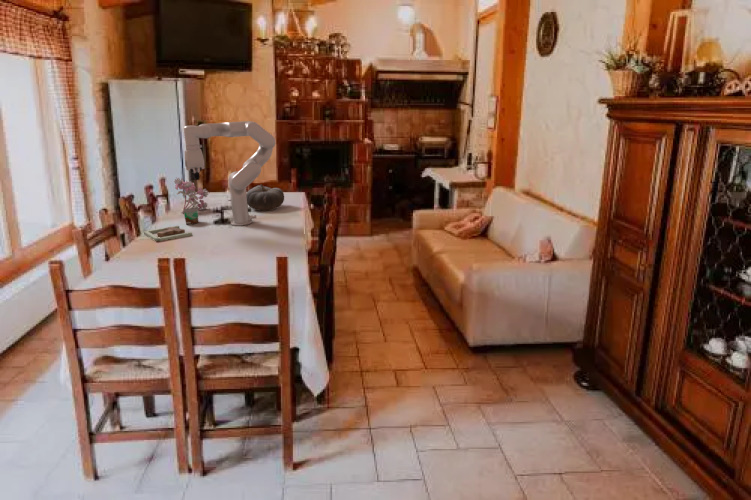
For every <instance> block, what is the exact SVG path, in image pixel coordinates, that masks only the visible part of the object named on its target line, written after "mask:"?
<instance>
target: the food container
mask: <svg viewBox="0 0 751 500" xmlns="http://www.w3.org/2000/svg"><path fill="white" fill-rule="evenodd" d="M187 208H188V207H187ZM199 208H200V207H198V206H197V204H196V205H192V206H191V207H190V208H188V209H183V213H182V214H183V215H184V220H185V224H186V225H187V226H189V225H196V224H198V223H199V210H200V209H199Z"/></svg>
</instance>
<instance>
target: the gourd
mask: <svg viewBox="0 0 751 500" xmlns="http://www.w3.org/2000/svg"><path fill="white" fill-rule="evenodd" d="M246 193H247V204H248V207H249V208H251V209H253V210H256V211H260V212H261V211H263V212H265V211H268V212H269V211H273V210H275V209H277V208H279V207H280V206H281V205H283V204H284V202H285V194H284V191H283V190H282V189H281V188H279V187H273V188H271V187H268V186H264V185H263V184H260V185H256V186H254V187H252V188H250V189H249V190H248V191H246Z"/></svg>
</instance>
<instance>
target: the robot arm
mask: <svg viewBox="0 0 751 500" xmlns="http://www.w3.org/2000/svg"><path fill="white" fill-rule="evenodd" d="M183 133H184V141H185V151H184V166H185V170H186V171H190V172H191V173H193V175H192V176H193V179H194V180H195V181H199V180H200V172H201V171H202V170H204V169H205V168H206V166H205V158H204V154H203V151H202V149H201V148H203V144H200V139H209V138H212V137H226V138H235V137H236V138H238V137H251V138H252V139H253V140H254V141H255V142H256V143H258V147H257V148H258V149H257V150H256V151H255V153H253V155H251V156H250V157H249V158H248V159H247V160H246V161H244V163H243V164H242V168H241V169H240V170H239V171H233V172H231V173H230V174H229V175H228V179H227V180H228V187H229V193H230V202H231V203H230V204H231V214H232V220H231V221H230V225H231V226H235V227H236V226H239V227H240V226H248V225H251V224H252V222H253V220H252V219H257V215H256V214H255V215H252V214H249V205H248V204H247V187H248V186H249V185H251V184H252V183H253V182H254V181H255V180H256V179H257V178H258V177H259V175H260V174H261V172H262V167H263V166H264V165H265V164H266V163H267V162H268V161H269V160H270V159H271V157H272V155H273V148H274V147H275V146H276V143H277V142H276V141H277V140H276V138H275V136H274V135H272V134H271V133H270V132H268V131H267V130H266V129H265V128H263V127H262V126H261V125H260V124H259V123H257V122H256V121H252V120H247V121H246V120H243V121H229V122H228V121H227V122H226V121H225V122H218V123H217V122H215V123H214V122H213V123H201V124H199V125H185V126H183Z"/></svg>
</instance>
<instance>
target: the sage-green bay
mask: <svg viewBox="0 0 751 500" xmlns="http://www.w3.org/2000/svg"><path fill="white" fill-rule="evenodd" d="M168 227H169V226H167V227H161V228H155V229H154V228H153V229H149V230H144V231H143V234H144V235H145V234H146V235H147V236H146V235H145V236H146V237H148V236H149V237H151V238H152V239H154V240H155V241H160V242H164V241H163V240H165V241H169V240H168V239H171V240H175V238H176V239H181V238H185V237H186V236H187V237H190V236H193V232H192V231H189V232H185V233H183V234H177V235H172V236H166V237H161V238H158V236H156V235H154V234H157V233H156V232H161V231H165V229H164V228H168ZM171 227H174V228H179V229H181V228H180V225H178V224H177V225H173V226H171ZM151 233H152V234H151ZM149 237H148V238H149ZM180 237H181V238H180ZM151 238H150V239H151ZM152 239H151V240H152ZM154 240H153V241H154ZM155 241H154V242H155Z"/></svg>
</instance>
